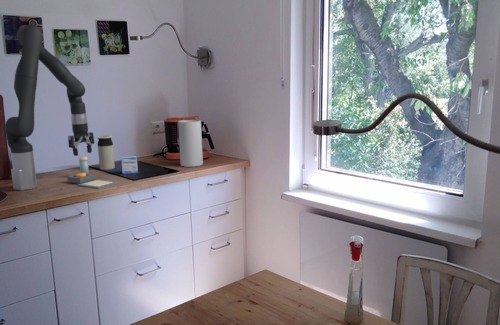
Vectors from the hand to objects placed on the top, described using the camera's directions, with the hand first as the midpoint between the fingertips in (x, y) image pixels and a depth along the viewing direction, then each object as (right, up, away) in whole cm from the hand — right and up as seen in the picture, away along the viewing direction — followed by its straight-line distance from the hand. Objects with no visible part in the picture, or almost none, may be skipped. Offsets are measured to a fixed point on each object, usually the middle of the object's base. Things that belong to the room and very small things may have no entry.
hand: (82, 154), depth 235 cm
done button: (+3, -12, -10) cm, 16 cm away
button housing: (+3, -14, -10) cm, 17 cm away
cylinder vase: (+53, -6, +24) cm, 58 cm away
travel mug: (+6, -8, +20) cm, 22 cm away
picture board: (+13, -15, -17) cm, 26 cm away
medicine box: (+22, -10, +8) cm, 26 cm away
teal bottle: (0, -11, +2) cm, 12 cm away
